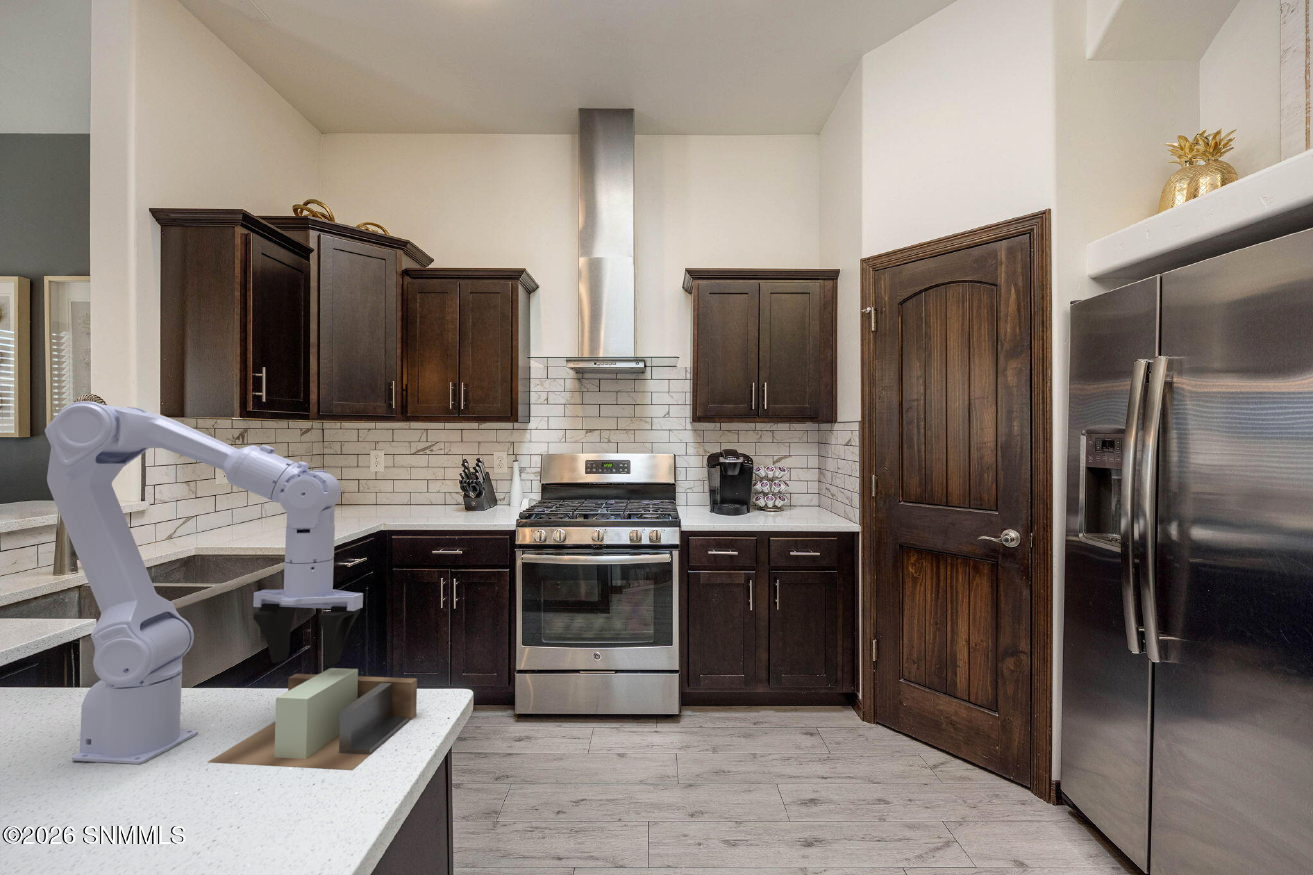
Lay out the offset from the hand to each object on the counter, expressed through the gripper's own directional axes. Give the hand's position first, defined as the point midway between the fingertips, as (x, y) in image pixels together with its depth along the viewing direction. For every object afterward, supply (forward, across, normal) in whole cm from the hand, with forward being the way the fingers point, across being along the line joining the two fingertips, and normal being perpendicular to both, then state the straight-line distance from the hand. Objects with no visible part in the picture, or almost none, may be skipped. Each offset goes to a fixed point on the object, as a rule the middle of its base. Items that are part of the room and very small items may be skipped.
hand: (306, 661), depth 78 cm
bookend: (+8, +11, -2) cm, 14 cm away
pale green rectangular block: (+8, +4, -3) cm, 10 cm away
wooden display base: (+9, +4, -4) cm, 11 cm away
